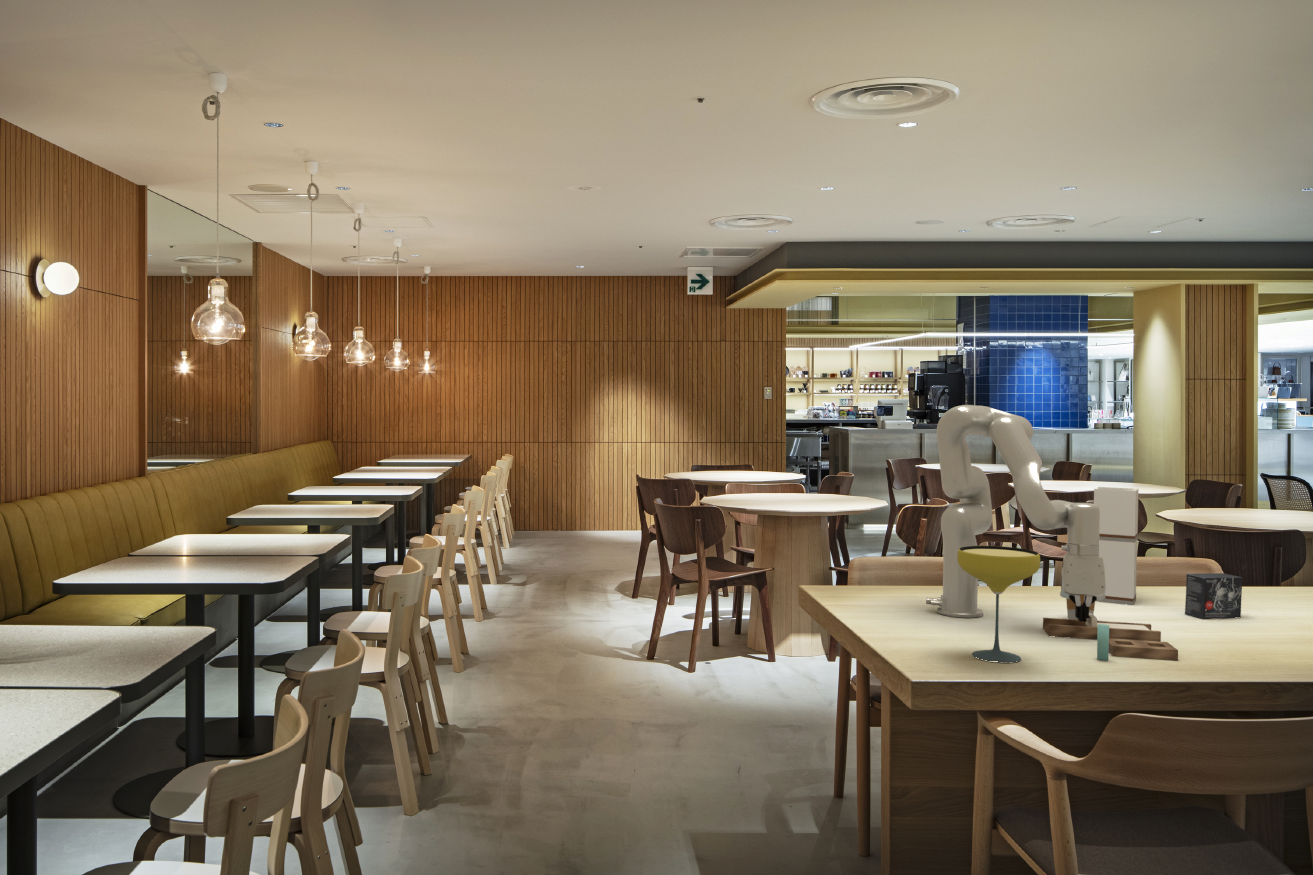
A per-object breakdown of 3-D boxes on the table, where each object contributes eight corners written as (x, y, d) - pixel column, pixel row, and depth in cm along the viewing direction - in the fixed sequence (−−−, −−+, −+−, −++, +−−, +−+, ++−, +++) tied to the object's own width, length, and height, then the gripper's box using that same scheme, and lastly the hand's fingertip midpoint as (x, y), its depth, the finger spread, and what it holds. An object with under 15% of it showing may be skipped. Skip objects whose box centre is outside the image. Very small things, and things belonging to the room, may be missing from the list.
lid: (1090, 630, 228) (1091, 617, 228) (1085, 624, 234) (1085, 612, 234) (1151, 634, 224) (1151, 621, 224) (1143, 628, 230) (1144, 616, 230)
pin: (1098, 660, 206) (1099, 626, 206) (1095, 657, 208) (1096, 623, 208) (1109, 661, 206) (1110, 626, 205) (1107, 658, 208) (1107, 624, 208)
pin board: (1112, 655, 210) (1112, 645, 210) (1103, 647, 218) (1104, 637, 218) (1177, 660, 207) (1178, 650, 207) (1167, 651, 215) (1167, 641, 215)
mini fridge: (1136, 599, 279) (1138, 488, 278) (1133, 605, 270) (1135, 490, 269) (1095, 595, 285) (1098, 486, 285) (1091, 600, 276) (1094, 488, 276)
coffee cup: (1100, 624, 243) (1101, 570, 243) (1068, 623, 245) (1069, 569, 244) (1092, 618, 251) (1093, 565, 251) (1060, 616, 253) (1061, 564, 252)
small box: (1203, 619, 251) (1203, 577, 251) (1184, 614, 258) (1184, 573, 258) (1242, 618, 254) (1243, 576, 254) (1222, 613, 261) (1223, 572, 260)
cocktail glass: (995, 671, 196) (997, 558, 196) (939, 651, 213) (941, 547, 212) (1056, 663, 203) (1058, 554, 203) (996, 644, 220) (998, 544, 219)
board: (1049, 636, 229) (1049, 624, 229) (1042, 628, 238) (1043, 617, 238) (1160, 643, 223) (1160, 631, 223) (1149, 635, 231) (1150, 623, 231)
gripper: (1054, 551, 229) (1053, 622, 229) (1118, 553, 225) (1117, 625, 225) (1049, 547, 236) (1048, 616, 236) (1110, 549, 232) (1109, 619, 233)
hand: (1081, 620), depth 231 cm, fingers closed
